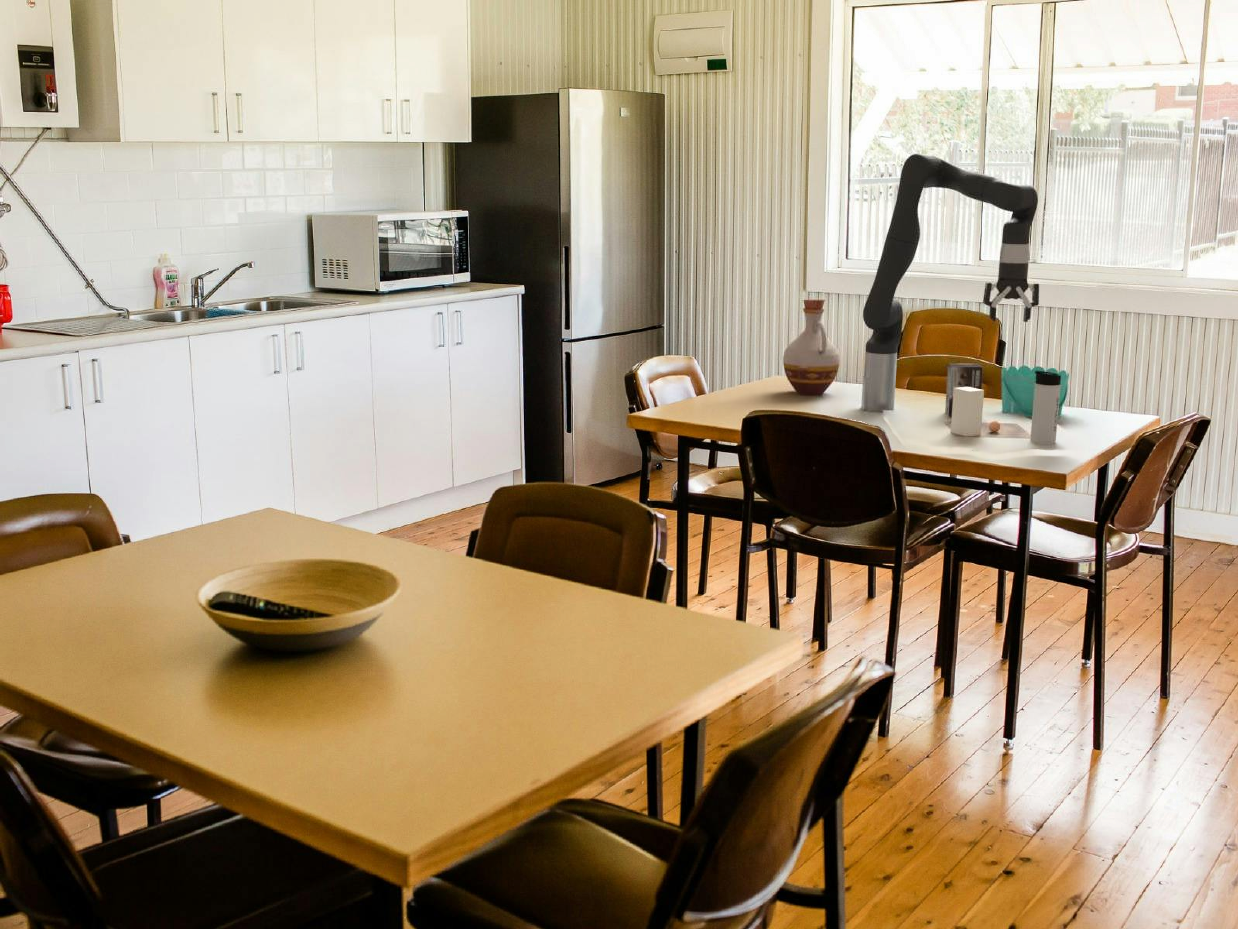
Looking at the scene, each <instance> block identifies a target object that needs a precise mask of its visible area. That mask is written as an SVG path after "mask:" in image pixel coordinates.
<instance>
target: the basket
mask: <svg viewBox="0 0 1238 929" xmlns="http://www.w3.org/2000/svg"><path fill="white" fill-rule="evenodd" d="M1035 370H1038V371H1045V372H1051V373H1056V374H1058V375H1061V381H1060V382H1061V386H1060V398H1059V409H1058V418H1059V417H1061V416H1060V415H1062V411H1063V410H1062V409H1063V406H1064V403H1065V401H1066V399H1067V395H1068V391H1069V390H1068V388H1069V386H1068V384H1069V382H1068V381H1069V376H1070V372H1067V371H1066V370H1064V369H1063V370H1060V371H1059V372H1058V370H1057V369H1056V368H1055V367H1050V368H1047V369H1046V370H1045V369H1044V367H1042V366H1034V367H1033V368H1032V369H1031V368H1030V366H1027V365H1022V366H1019V367H1018V368H1017V367H1016V366H1015V365H1010V366H1009V367H1008V369H1007V367H1005V366H1004V367H1002V369H1001V378H1000V380H1001V411H1002V413H1004V414H1022V415H1023V416H1024V417H1026V418H1031V419H1032V414H1033V402H1034V390H1035V381H1036V374H1035Z"/></svg>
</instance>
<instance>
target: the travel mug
mask: <svg viewBox="0 0 1238 929" xmlns="http://www.w3.org/2000/svg"><path fill="white" fill-rule="evenodd" d="M1035 374H1036V381H1035V390H1034V402H1033V414H1032V418H1031V426H1030V435H1031V438H1029V439H1030V442H1031V443H1033V444H1038V445H1039V444H1040V445H1054V444H1056V440H1057V431H1058V419H1059V417H1058V409H1059V398H1060V386H1061V382H1060V381H1061V375H1058V374H1056V373H1051V372H1046V370H1045V371H1038V370H1035Z"/></svg>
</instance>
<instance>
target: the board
mask: <svg viewBox="0 0 1238 929" xmlns="http://www.w3.org/2000/svg"><path fill="white" fill-rule="evenodd" d="M943 422H944V424H945V425H946V426H947V427H948V428H949V429H950V430H951V421H943ZM990 423H991V422H982V425H981V435H975V436H963V435H959V434H955V433H953V434H954V435H955V436H956V437H958V438H959V437H961V438H962V437H964V438H967V437H968V438H997V439H998V438H999V439H1001V438H1003V439H1030V438H1031V433H1029V432H1028V431H1027V430H1025V428H1023V427H1022V426H1021V425H1020V424H1019V423H1007V422H998V423H999V424H1000V429H999V431H997V432H992V431H990V430H989V424H990Z"/></svg>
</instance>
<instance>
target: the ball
mask: <svg viewBox="0 0 1238 929" xmlns="http://www.w3.org/2000/svg"><path fill="white" fill-rule="evenodd" d="M989 423H990V424H989V430H990V431H992V432H997V431H999V429H1000V424H999V423H1000V422H998V421H996V420H993V421H990V422H989Z"/></svg>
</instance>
